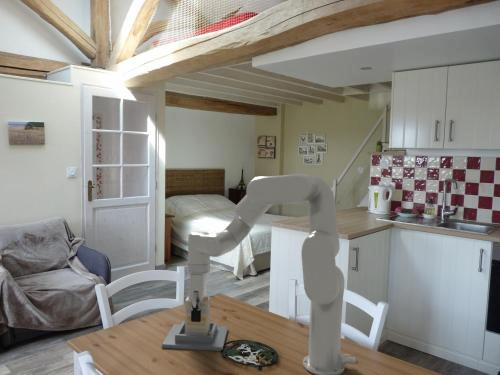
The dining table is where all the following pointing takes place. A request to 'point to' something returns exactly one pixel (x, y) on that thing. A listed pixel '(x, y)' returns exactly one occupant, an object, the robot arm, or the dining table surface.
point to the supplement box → (204, 324)
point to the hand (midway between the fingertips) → (198, 316)
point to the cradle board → (196, 338)
